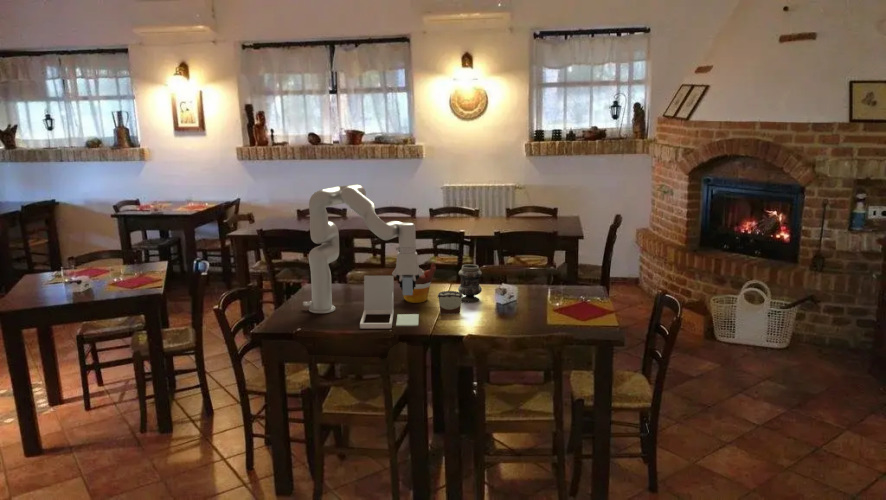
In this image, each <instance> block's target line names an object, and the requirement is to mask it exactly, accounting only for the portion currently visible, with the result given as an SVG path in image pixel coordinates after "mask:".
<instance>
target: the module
mask: <svg viewBox="0 0 886 500" xmlns="http://www.w3.org/2000/svg"><path fill="white" fill-rule="evenodd" d="M402 286H403V291H402V296H404V295H413V276H412V275H403V277H402Z"/></svg>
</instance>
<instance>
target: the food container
mask: <svg viewBox="0 0 886 500" xmlns="http://www.w3.org/2000/svg"><path fill="white" fill-rule="evenodd" d="M463 297H464V295H463V294H462V293H460V292H459V291H454V290H446V291H440V292H438V293H437V299H438V303H439V314H440V315H461V307H462V301H461V300H462V298H463Z"/></svg>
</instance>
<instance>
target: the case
mask: <svg viewBox="0 0 886 500" xmlns="http://www.w3.org/2000/svg"><path fill="white" fill-rule="evenodd" d="M363 277H364V278H363V286H364V287H363V290H364V291H363V292H364V293H363V295H364V296H363V306H364V307H363V313H362V315H361V319H360V322H359V329H392V326H393V319H394V309H395V308H394V307H395V306H394V303H395V301H394V300H395V299H394V298H395V297H394V296H395V295H394V291H395V289H394V288H395V287H394V283H395V282H394V281H395V278H394V277H395V276H394V275H364V276H363ZM367 315H390V316H389V317H390V318H389V322H365V320H366V317H367Z"/></svg>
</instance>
